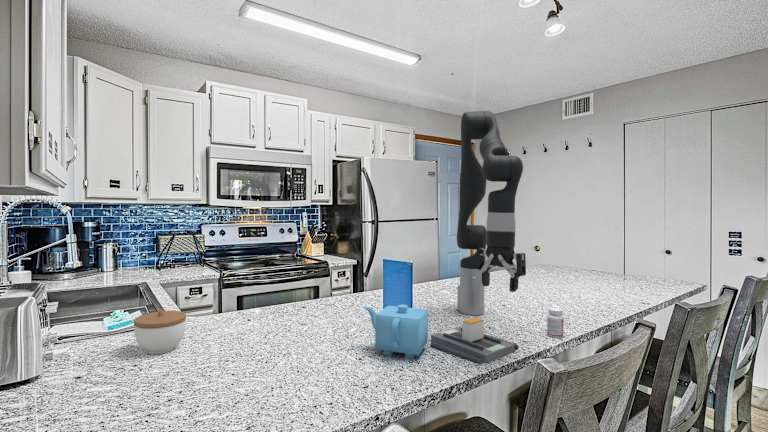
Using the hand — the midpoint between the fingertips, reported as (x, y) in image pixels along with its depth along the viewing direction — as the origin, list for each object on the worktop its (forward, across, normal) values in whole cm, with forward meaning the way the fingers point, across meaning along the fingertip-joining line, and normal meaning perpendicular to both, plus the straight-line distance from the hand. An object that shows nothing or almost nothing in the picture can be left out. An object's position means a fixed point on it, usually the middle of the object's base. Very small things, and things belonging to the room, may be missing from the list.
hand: (499, 288), depth 108 cm
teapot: (+19, -21, -20) cm, 35 cm away
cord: (+18, -8, -9) cm, 22 cm away
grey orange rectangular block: (+16, -8, 0) cm, 18 cm away
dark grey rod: (+18, -8, +9) cm, 22 cm away
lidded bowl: (+19, -60, -71) cm, 95 cm away
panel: (+18, -9, 0) cm, 20 cm away
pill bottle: (+18, +2, +28) cm, 34 cm away
